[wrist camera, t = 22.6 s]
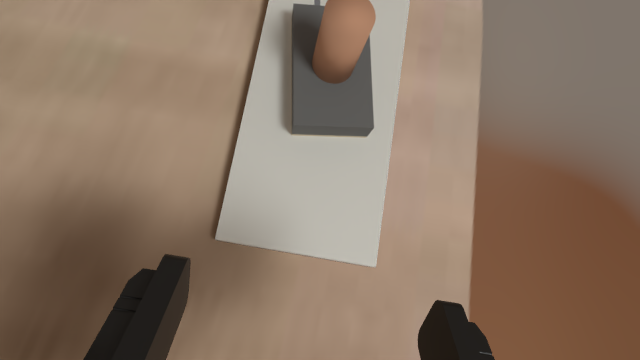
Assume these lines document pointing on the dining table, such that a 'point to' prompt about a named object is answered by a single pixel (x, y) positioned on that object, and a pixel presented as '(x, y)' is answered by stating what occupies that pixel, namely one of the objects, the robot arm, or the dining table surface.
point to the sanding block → (332, 69)
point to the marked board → (312, 154)
